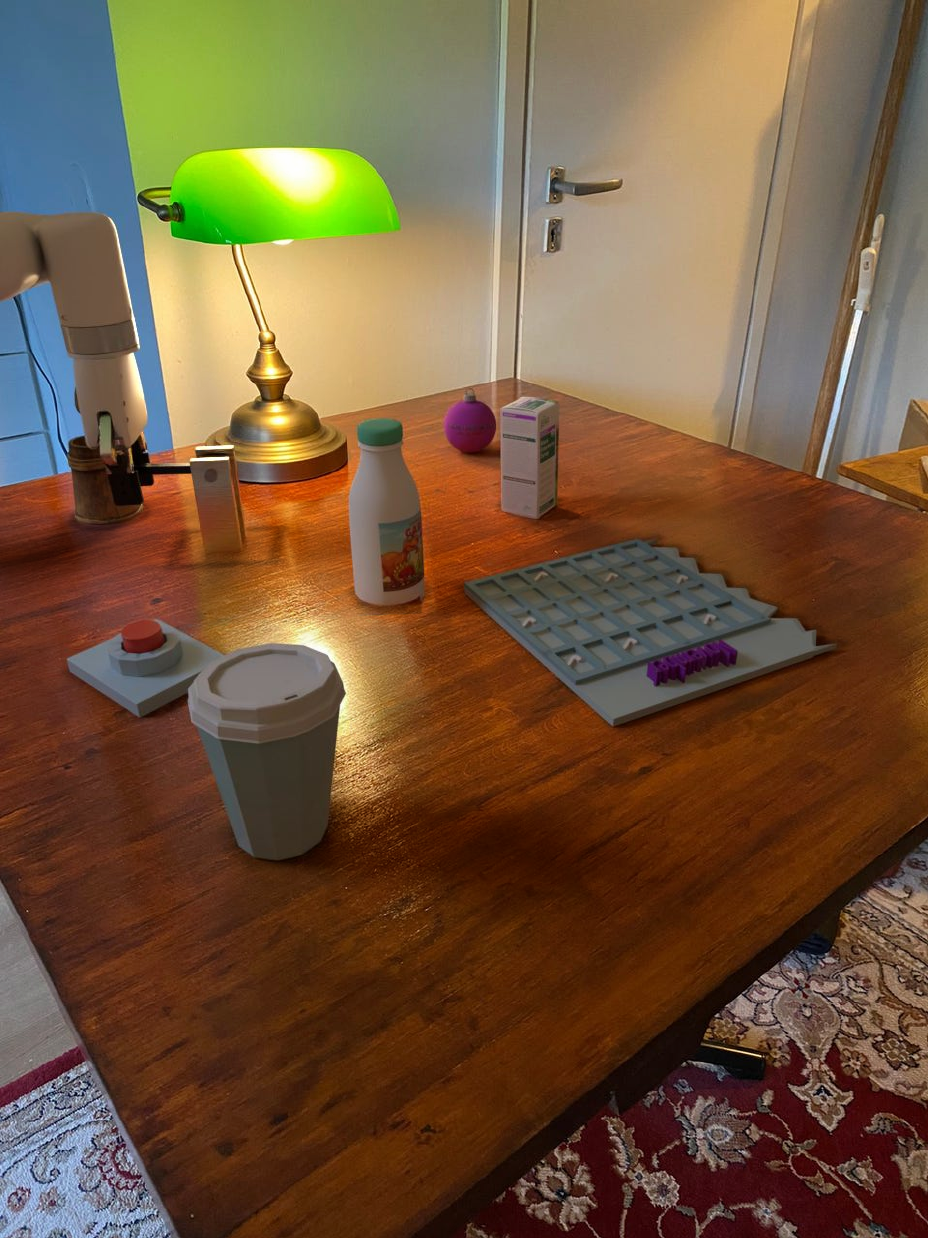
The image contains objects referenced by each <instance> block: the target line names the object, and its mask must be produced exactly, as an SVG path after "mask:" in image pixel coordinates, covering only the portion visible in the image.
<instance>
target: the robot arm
mask: <svg viewBox="0 0 928 1238" xmlns="http://www.w3.org/2000/svg"><path fill="white" fill-rule="evenodd" d="M125 270H126V269H125V265H124V261H123V255H122V250H121V245H120V241H119V235H118V231H117V228H116V225H115V223H114V221H113V219H111V217H109V216H108V215H107V214H104V213H101V212H95V211H94V212H93V211H76V212H64V213H56V214H52V215H50V214H37V213H29V212H21V211H0V303H1V302H5V301H8V300H10V299H12V298H15V297H16V296H18V295H20V294H22V293H24V292H26V291H28V290H31V289H34V288H35V287H39V286H40V285H45V284H50V287H51V291H52V296H53V301H54V303H55V309H56V313H57V316H58V322H59V325H60V330H61V335H62V337H63V341H64V346H65V350H66V354H67V357H68V358H70V359H73V360H72V364H73V365H72V367H73V376H74V385H75V386H76V392H77V398H78V404H79V409H80V413H79V415H80V420H81V424H82V425H81V426H82V429H83V436H85V440H86V444H87V446H88V447H89V448H90V449H96V448H97V447H98V446H99V445H100V457H101V459H102V460H103V461H104V464H105V466H106V472H107V474H108V478H109V482H110V486H111V491H112V495H113V499H114V503H115V505H117V506H126V505H141V504H143V503H144V501H145V500H144V495H143V490H142V487H152V486H153V485H154V484H155V478H154V475H138V471H137V470H134V466H133V459H132V457H134V458H136V459H137V461H138V464H151V463H152V462H151V459H150V454H149V452H148V444H147V441H146V437H145V431H144V430H145V429H146V426H147V424H148V410H147V405H146V399H145V394H144V390H143V385H142V380H141V377H140V372H139V368H138V365H137V361H136V360H137V359H136V357H135V354H134V353H136V352H138V351H139V350H140V349H141V346H140V341H139V336H138V331H137V326H136V321H135V320H136V319H135V317H134V311H133V307H132V301H131V296H130V295H131V294H130V291H129V287H128V280H127V275H126V271H125ZM115 440H118V442H119V444H120V445H115ZM121 450H122V452H123V453H124V454H121V455H117V452H116V451H121Z"/></svg>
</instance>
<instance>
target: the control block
mask: <svg viewBox="0 0 928 1238" xmlns="http://www.w3.org/2000/svg"><path fill="white" fill-rule="evenodd" d="M151 620H152V621H156V622H158V623H159V624H160V625H161V628H162V633H163V638H164V644H163V646H162V647H160V648H158V649H156V650H154V651H152V652H147V653H142V654H135V653H128V652H127V651H126V650H125V648H124V643H123V639H122V635H121V632H120V633H117V634H116V635H115V636H114V637H112V638H109V639H108V640H105V641H103V642H101V643H98V644H96V645H94V646H92V647H89V648H88V649H85V650H83V651H81V652H78V653H76V654H74V655H72V656H70V657H67V658H66V662H67V666H68V670H69V672H70V673H71V674H73V675H74V676H76V677H77V678H79V679H81V680H82V681H83V682H85V683H86V684H88V685H89V686H91V687H92V688H94V689H95V690H97V691H99V692H100V693H101V694H103V695H105V697H108V698H109V699H111V700H112V701H114V702H115V703H117V704H118V705H119V706H121V707H122V708H124V709H126V710H128V711H129V712H131V713H132V714H133V715H135V716H137V718H142V717H144V716H146V715H148V714H150V713H152V712H154V711H156V710H157V709H159V708H161V707H163V706H166V705H167V704H169V703H171V702H173V701H174V700H176V699H178V698H180V697H182V696H184V695H186V694H188V688H189V687H190V686H191V685H192V683H193V682H194V680H195V679H196V678H197V676H198V675H199V674H200V673H201V672H202V671H203V670H204V668H205V667H206V666H207V665H208V664H209V663H210V662H211V661H214V660H216V659H218V658H220V657H222V656H224V655H225V654H223V653H222V652H220V651H218V650H217V649H214V648H213V647H211V646H209V645H207V644H205V643H203V642H201V641H200V640H197V639H196V638H194V637H192V636H190V635H188V634H186V633H184V632H183V631H181V630H179V629H177V628H175V627H173V626H171V625H170V624H169V623H166V622H164V621H162V620H161V619H158V618H154V619H151Z"/></svg>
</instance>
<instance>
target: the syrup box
mask: <svg viewBox="0 0 928 1238" xmlns="http://www.w3.org/2000/svg"><path fill="white" fill-rule="evenodd" d="M499 409H500V412H499V413H500V495H501V496H500V501H501V502H500V503H501V504H500V505H501V511H502V512H504V513H508V514H510V515H514V516H518V517H523V518H529V519H533V520H539V519H540V518H541V517H542V516H544V515H545V514H546V513H548V512H549V511H550V510H552V509H553V508H554V507H556V506H557V505H558V491H559V490H558V489H559V487H558V486H559V447H560V445H559V444H560V443H559V442H560V441H559V439H560V438H559V437H560V432H559V431H560V401H556V400H554V399H548V398H544V397H538V396H537V397H536V396H523V395H522V396H520V397H519V398H518V399H516V400H515V401H512V402H511V403H509V404H506V405H503V406H501V407H500V408H499Z"/></svg>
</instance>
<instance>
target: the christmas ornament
mask: <svg viewBox="0 0 928 1238" xmlns="http://www.w3.org/2000/svg"><path fill="white" fill-rule="evenodd" d="M468 390H471V391H472V392H467V391H468ZM443 432H444V435H445V438H446V440H447V441H448V442H449V444H450V445H451V446H452V447H453V448H455V449H456V450H457V451H461V452H463V453H470V454H471V453H477V452H480V451H482V450H484V449H486V448H487V447H488V446H489V445H490V444H491V442H492V441H493V440H494V438H495V435H496V432H497V420H496V416H495V414H494V412H493V410H492V409H491V408H490V406H488V405H487V404H486V403H485V402H483V401H480V400H479V399H477V396H476V393H475V390H474V389H473V388H472V387H468V388H467V389H466V390H465V393H464V394H463V400H459V401H457V402H455V403H453V404H452V406H451V407H450V408H449V409H448V410H447V412H446V414H445V416H444V420H443Z"/></svg>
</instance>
